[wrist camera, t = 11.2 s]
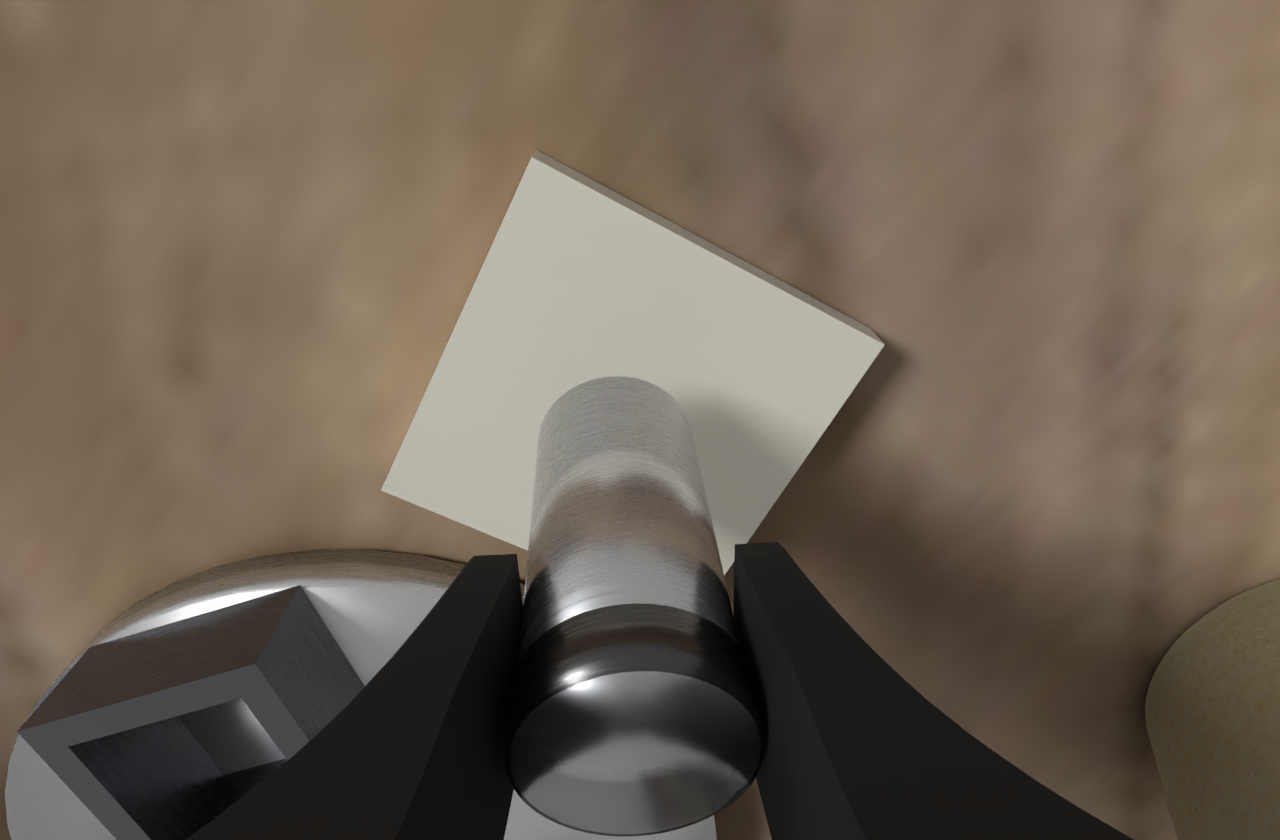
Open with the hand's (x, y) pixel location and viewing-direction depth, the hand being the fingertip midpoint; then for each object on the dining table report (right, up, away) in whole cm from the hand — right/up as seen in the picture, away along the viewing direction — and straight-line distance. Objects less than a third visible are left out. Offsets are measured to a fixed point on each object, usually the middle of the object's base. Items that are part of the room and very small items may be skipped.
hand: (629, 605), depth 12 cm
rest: (0, +3, +6) cm, 7 cm away
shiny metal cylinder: (0, +2, +4) cm, 5 cm away
